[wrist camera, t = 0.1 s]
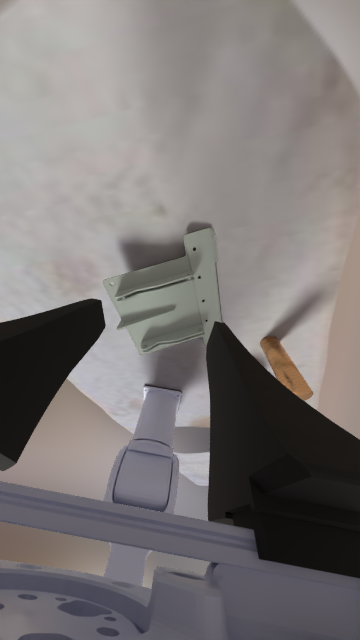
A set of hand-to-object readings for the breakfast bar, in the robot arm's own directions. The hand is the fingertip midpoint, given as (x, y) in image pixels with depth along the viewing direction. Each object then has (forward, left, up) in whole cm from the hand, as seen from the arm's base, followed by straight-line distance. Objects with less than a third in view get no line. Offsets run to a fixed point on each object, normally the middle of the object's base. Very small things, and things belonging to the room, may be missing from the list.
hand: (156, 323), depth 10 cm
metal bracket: (-4, 0, -11) cm, 11 cm away
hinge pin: (-8, -15, -10) cm, 19 cm away
